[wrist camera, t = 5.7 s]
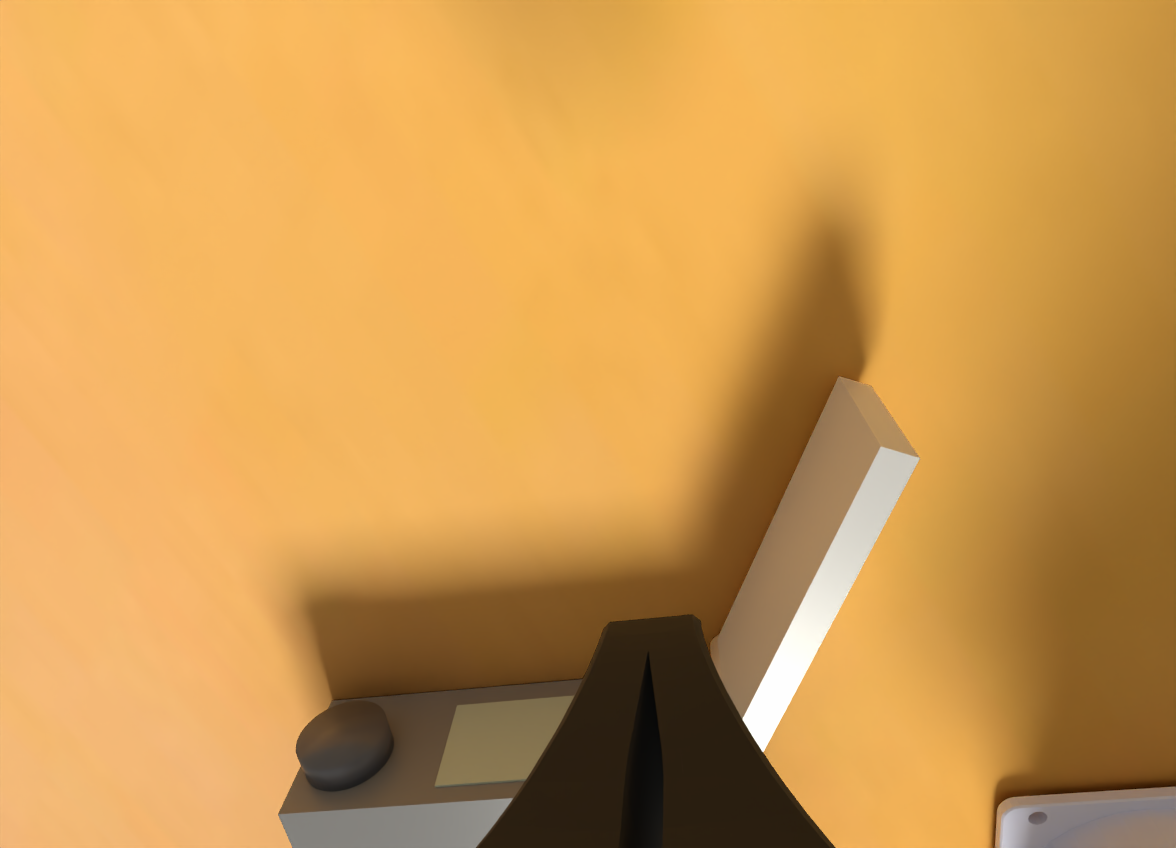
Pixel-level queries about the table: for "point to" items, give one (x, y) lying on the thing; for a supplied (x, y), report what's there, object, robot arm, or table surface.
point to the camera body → (419, 765)
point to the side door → (811, 553)
